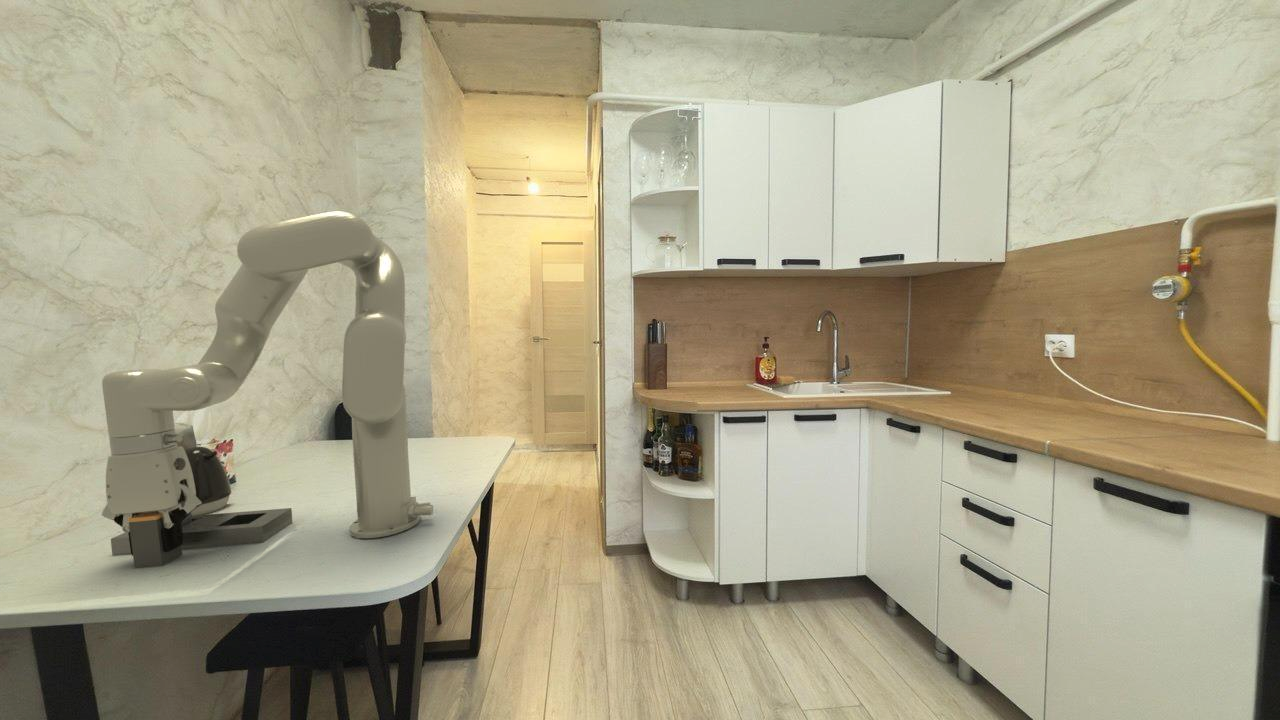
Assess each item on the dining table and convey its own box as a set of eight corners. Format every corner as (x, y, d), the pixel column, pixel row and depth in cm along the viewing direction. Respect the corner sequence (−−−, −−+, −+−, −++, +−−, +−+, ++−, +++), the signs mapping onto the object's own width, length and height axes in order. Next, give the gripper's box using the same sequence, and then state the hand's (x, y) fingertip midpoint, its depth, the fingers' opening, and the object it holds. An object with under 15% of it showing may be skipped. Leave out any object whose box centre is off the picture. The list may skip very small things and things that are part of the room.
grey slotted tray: (292, 527, 94) (291, 507, 94) (263, 547, 85) (262, 526, 85) (157, 538, 90) (156, 518, 90) (112, 560, 82) (110, 538, 81)
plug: (182, 555, 81) (176, 507, 80) (162, 566, 77) (156, 516, 76) (156, 557, 80) (150, 509, 80) (134, 569, 76) (128, 518, 76)
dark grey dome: (194, 525, 97) (188, 453, 96) (156, 522, 99) (149, 452, 98) (245, 506, 107) (239, 441, 106) (209, 504, 109) (203, 440, 108)
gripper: (217, 434, 82) (229, 534, 84) (108, 442, 80) (122, 545, 81) (182, 444, 75) (195, 554, 76) (61, 454, 72) (77, 567, 74)
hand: (157, 548), depth 79 cm, fingers closed on plug, 4 cm apart
